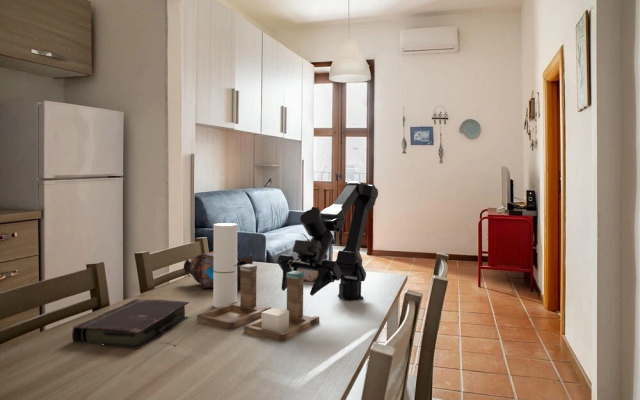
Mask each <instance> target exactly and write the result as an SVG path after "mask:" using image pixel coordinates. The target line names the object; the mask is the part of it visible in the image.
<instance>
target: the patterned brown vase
mask: <svg viewBox="0 0 640 400" xmlns="http://www.w3.org/2000/svg"><path fill="white" fill-rule="evenodd" d="M213 260H214V251H209V252H204V253H202V254H198V255H196V257H194V258H193V259H192V261H190V260H189V259H185V262H184V264H183V270H184V273H185V274H186V275H187V276H188V278H190V277H191V276H192V278H193V279H194V280H195V281H196V282H197V283H198V284H199V285H200V286H199V289H212V288H213V271H214V270H213ZM253 262H254V260H253V255H252V254H250V255H249V256H247V257H244V258H238V257H237V292H240V284H241V270H240V266H242V265H245V264H252V265H254V264H253ZM189 274H190V275H191V276H190V275H189Z"/></svg>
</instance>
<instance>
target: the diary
mask: <svg viewBox="0 0 640 400" xmlns="http://www.w3.org/2000/svg"><path fill="white" fill-rule="evenodd" d="M188 304H190V301H184V300H183V301H182V300H169V299H135V298H134V299H133V300H131V301H129V302H126V303H125V304H122V305H121V306H118V307H116V308H113V309H111V310H108V311H106V312H104V313H101V314H99V315H97V316H96V317H94V318H92V319H90V320H87V321H84V322H82V323H79V324H77V325H74V326H73V327H72V330H71V334H72V335H71V338H72V343H73V344H75V343H77V342H79V341H82V342H81V344H83V343H87V342H89V344H99V346H101V347H111V348H120V349H130V350H137V349H140V348H143V347H145V346H146V345H148V344H150V343H151V342H152V341H154V340H156V339H157V338H159V337H160V336H162V335H163V334H165V333H167V332H168V331H171V330H172V329H173V328H174V326H176V325H179V324H181V323H182V322H184V321H186V320H188V319H189V318H190V316H186V312H185V311H186V310H185V309H186V306H187V305H188ZM85 341H86V342H85ZM101 344H104V345H101Z"/></svg>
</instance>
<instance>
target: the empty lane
mask: <svg viewBox="0 0 640 400" xmlns="http://www.w3.org/2000/svg"><path fill="white" fill-rule="evenodd" d="M240 270H241V284H240V291H239V292H240V298H239V299H240V300H237V301H236V302H233V303H230V304H228V305H225V306H222V307H219V308H216V307H215V308H214V309H213V308H212V309H211V310H208V311H205V312H203V313H199V314H198V315H197V316H196V324H197V325H200V324H202V323H203V324H206V325H211V326H215V327H220V328H224V329H228V330H234V329H236V328H239V327H241V326H244V325H247V324H249V323H252V322H254V321H256V320H259V319H261V314H262V312H264V311H266V310H269V309H271V308H272V306H265V307H264V306H259V305H257V270H258V265H256V264H245V265H242V266H240Z"/></svg>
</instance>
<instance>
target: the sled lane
mask: <svg viewBox="0 0 640 400" xmlns="http://www.w3.org/2000/svg"><path fill="white" fill-rule="evenodd" d="M303 277H304V272H299V271H291V272H288V273H287V288H286V310H288V311H289V329H288V330H286V331H284V332H282V333H281V332H276V331H272V330H267V329H263V328H261V318H258V319H256V320H253V321H251V322H249V323H246V324H244V325H243V333H245V334H248V335H253V336H257V337H260V338H263V339H264V338H265V339H269V340H274V341H277V342H282V343H284V342H286V341H288V340H289V339H291V338H293V337H295V336H297V335H299V334H301V333H303V332H304V331H306V330H308V329H310V328H312V327H314V326H315V325H317V324H320V316H318V315H315V316H310V315H304V281H303ZM283 310H285V309H283Z"/></svg>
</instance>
